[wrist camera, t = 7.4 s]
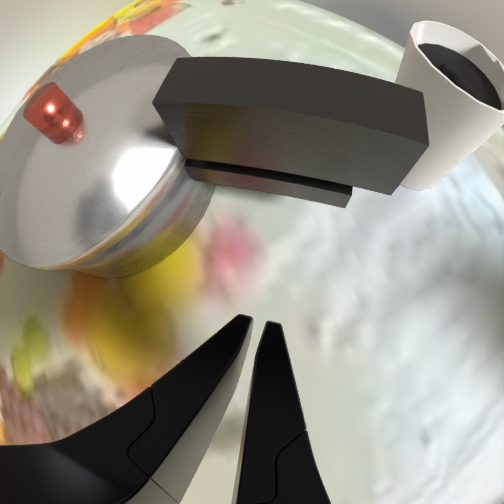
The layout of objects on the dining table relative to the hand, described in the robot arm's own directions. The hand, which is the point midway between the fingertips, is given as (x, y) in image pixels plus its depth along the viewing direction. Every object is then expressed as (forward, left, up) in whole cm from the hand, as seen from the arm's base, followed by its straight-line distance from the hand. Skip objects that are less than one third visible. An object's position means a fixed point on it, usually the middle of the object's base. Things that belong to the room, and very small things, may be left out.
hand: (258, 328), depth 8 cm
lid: (+4, +11, -3) cm, 12 cm away
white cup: (+15, -2, -9) cm, 18 cm away
